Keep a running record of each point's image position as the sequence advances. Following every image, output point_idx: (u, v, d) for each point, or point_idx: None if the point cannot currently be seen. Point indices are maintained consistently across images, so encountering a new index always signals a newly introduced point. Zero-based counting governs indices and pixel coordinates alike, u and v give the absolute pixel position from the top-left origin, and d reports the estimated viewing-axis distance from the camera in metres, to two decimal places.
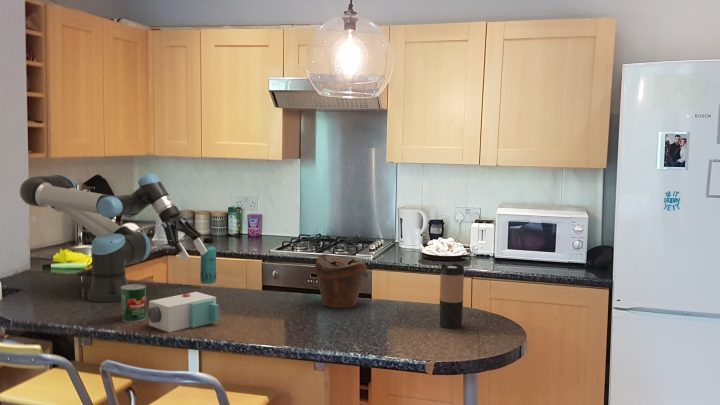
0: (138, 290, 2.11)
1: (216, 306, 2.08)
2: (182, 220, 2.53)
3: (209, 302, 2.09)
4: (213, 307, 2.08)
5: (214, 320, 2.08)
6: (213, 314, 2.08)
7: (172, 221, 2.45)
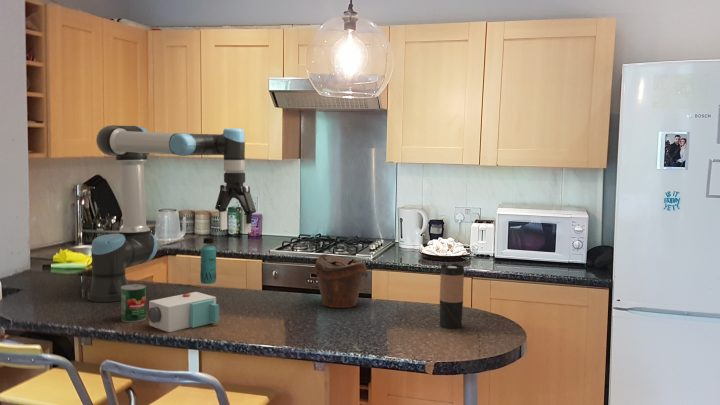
0: (138, 290, 2.11)
1: (216, 306, 2.08)
2: None
3: (209, 302, 2.09)
4: (213, 307, 2.08)
5: (214, 320, 2.08)
6: (213, 314, 2.08)
7: None
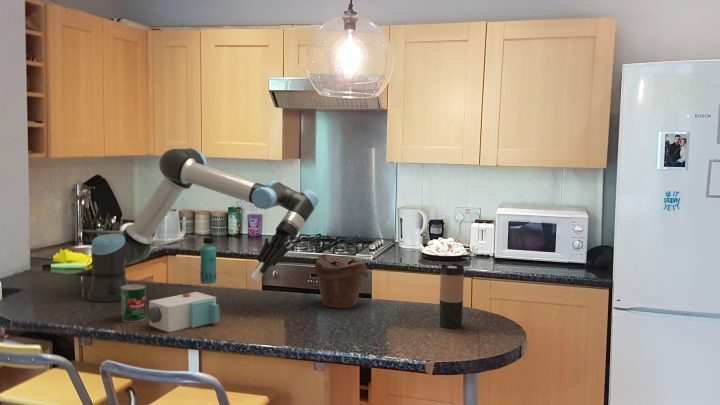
0: (138, 290, 2.11)
1: (216, 306, 2.08)
2: (271, 241, 2.31)
3: (209, 302, 2.09)
4: (213, 307, 2.08)
5: (214, 320, 2.08)
6: (213, 314, 2.08)
7: None
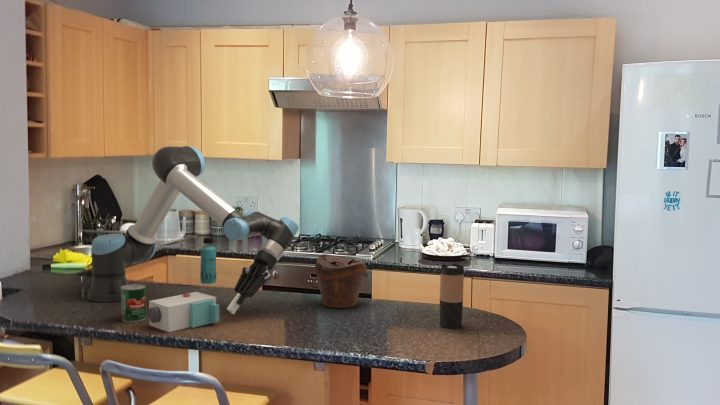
0: (138, 290, 2.11)
1: (216, 306, 2.08)
2: (249, 270, 2.24)
3: (209, 302, 2.09)
4: (213, 307, 2.08)
5: (214, 320, 2.08)
6: (213, 314, 2.08)
7: None
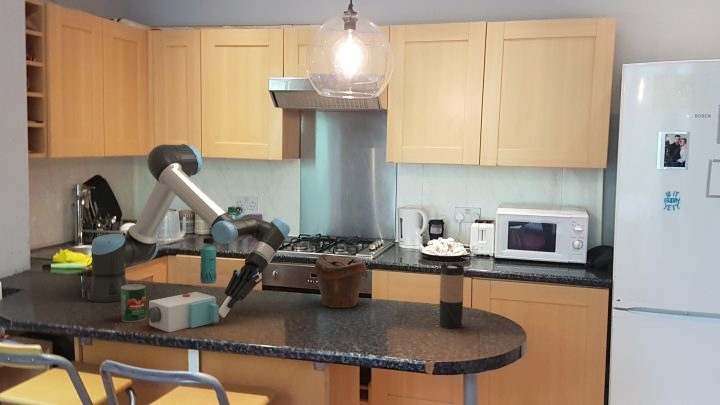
0: (138, 290, 2.11)
1: (215, 306, 2.08)
2: (240, 273, 2.21)
3: (208, 302, 2.09)
4: (212, 307, 2.08)
5: (213, 320, 2.08)
6: (212, 314, 2.08)
7: None
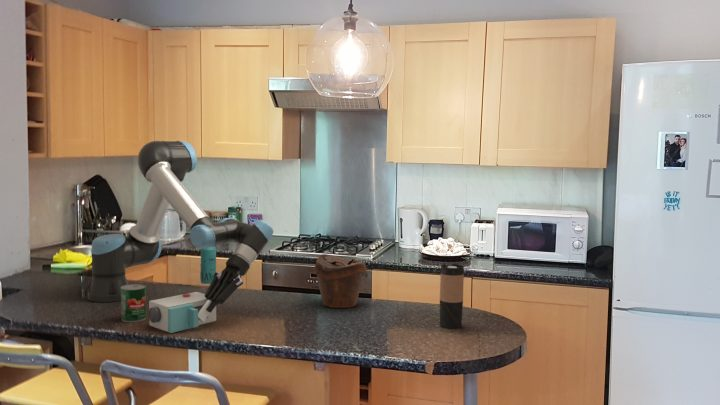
0: (138, 290, 2.11)
1: (195, 311, 2.02)
2: (221, 276, 2.15)
3: (188, 307, 2.03)
4: (191, 312, 2.02)
5: (193, 325, 2.02)
6: (192, 319, 2.02)
7: None
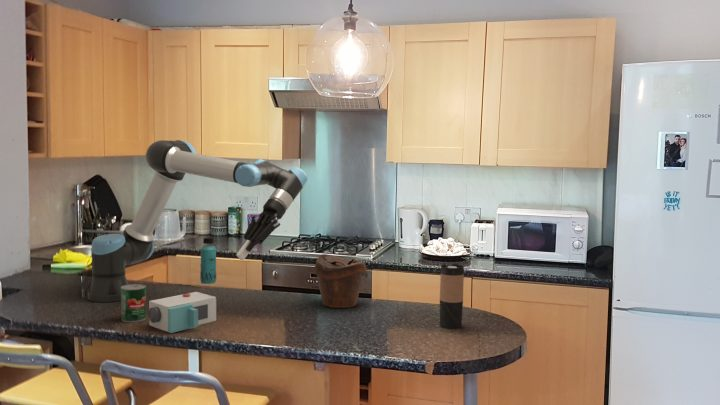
0: (138, 290, 2.11)
1: (195, 311, 2.02)
2: (258, 219, 2.26)
3: (188, 307, 2.03)
4: (191, 312, 2.02)
5: (193, 325, 2.02)
6: (192, 319, 2.02)
7: None
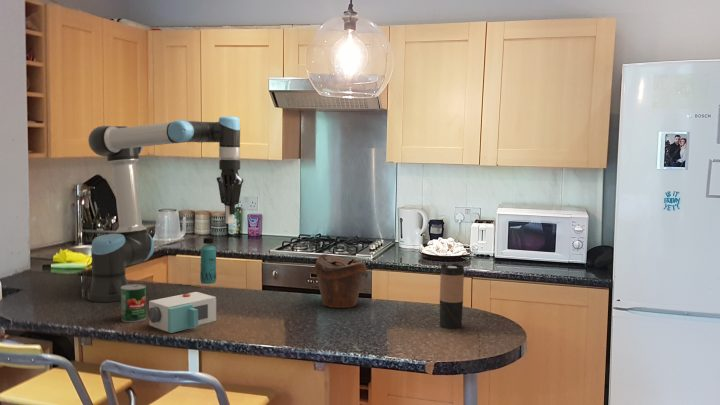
0: (138, 290, 2.11)
1: (195, 311, 2.02)
2: None
3: (188, 307, 2.03)
4: (191, 312, 2.02)
5: (193, 325, 2.02)
6: (192, 319, 2.02)
7: None
